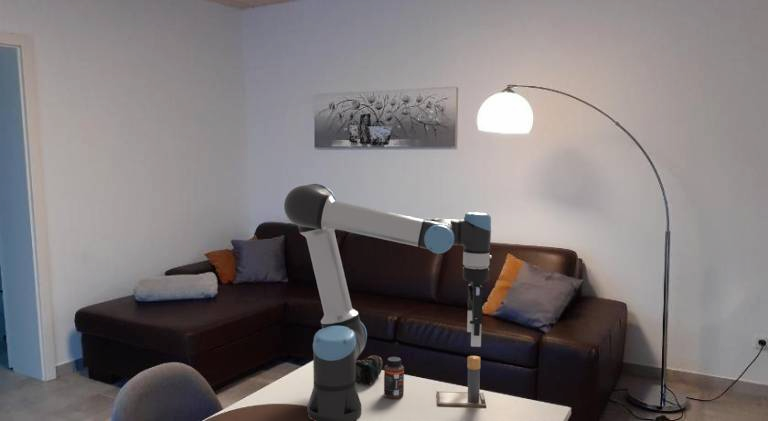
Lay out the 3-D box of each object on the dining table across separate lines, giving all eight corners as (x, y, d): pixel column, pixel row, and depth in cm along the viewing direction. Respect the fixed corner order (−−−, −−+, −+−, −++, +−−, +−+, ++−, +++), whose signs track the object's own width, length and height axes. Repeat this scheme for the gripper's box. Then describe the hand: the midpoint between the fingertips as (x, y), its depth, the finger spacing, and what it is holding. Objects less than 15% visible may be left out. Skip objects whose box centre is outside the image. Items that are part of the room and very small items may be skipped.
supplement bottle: (401, 400, 171) (402, 363, 170) (382, 398, 172) (382, 361, 171) (405, 392, 177) (405, 356, 176) (386, 390, 178) (386, 354, 177)
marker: (467, 403, 167) (468, 359, 166) (466, 398, 171) (467, 355, 170) (480, 403, 167) (481, 359, 166) (479, 398, 170) (479, 355, 170)
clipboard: (437, 405, 167) (437, 400, 167) (436, 393, 176) (436, 388, 176) (486, 407, 166) (486, 402, 166) (482, 394, 175) (482, 390, 175)
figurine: (342, 365, 183) (368, 347, 195) (349, 390, 183) (375, 370, 196) (363, 363, 178) (389, 345, 190) (370, 389, 178) (396, 369, 191)
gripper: (494, 275, 153) (491, 353, 155) (484, 259, 178) (482, 326, 179) (466, 274, 153) (463, 352, 155) (460, 258, 178) (457, 325, 180)
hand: (473, 338), depth 167 cm, fingers open, 13 cm apart
